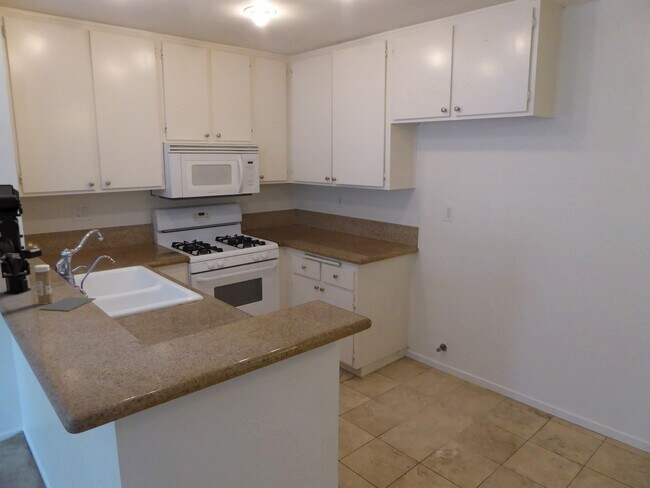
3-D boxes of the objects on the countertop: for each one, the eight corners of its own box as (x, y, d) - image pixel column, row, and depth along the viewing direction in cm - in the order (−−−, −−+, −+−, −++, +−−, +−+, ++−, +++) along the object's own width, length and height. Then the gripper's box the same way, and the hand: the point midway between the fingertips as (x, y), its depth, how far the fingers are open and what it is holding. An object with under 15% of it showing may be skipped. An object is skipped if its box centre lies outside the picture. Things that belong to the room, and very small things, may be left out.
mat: (39, 309, 156) (39, 308, 156) (68, 297, 169) (68, 296, 169) (69, 311, 154) (69, 310, 154) (95, 299, 168) (95, 298, 168)
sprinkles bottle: (54, 302, 163) (50, 265, 161) (39, 305, 160) (35, 267, 157) (51, 300, 166) (47, 263, 164) (36, 302, 163) (32, 265, 161)
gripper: (-35, 235, 154) (-29, 281, 157) (15, 237, 151) (20, 283, 154) (-7, 230, 165) (-1, 273, 167) (40, 232, 162) (45, 275, 165)
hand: (15, 276), depth 163 cm, fingers closed
